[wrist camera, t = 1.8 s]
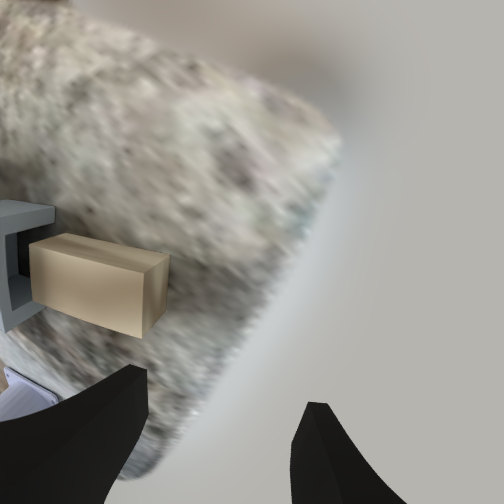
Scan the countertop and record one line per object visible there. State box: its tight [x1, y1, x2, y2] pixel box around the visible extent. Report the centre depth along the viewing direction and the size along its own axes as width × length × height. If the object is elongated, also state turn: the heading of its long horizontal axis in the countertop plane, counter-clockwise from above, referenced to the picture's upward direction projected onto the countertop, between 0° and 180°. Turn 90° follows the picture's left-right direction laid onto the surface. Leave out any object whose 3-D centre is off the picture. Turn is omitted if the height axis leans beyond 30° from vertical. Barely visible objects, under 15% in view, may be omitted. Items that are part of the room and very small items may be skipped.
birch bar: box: [29, 233, 170, 339], centre depth 16 cm, size 4×8×4 cm, turn 80°
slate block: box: [0, 199, 55, 333], centre depth 15 cm, size 7×6×6 cm
